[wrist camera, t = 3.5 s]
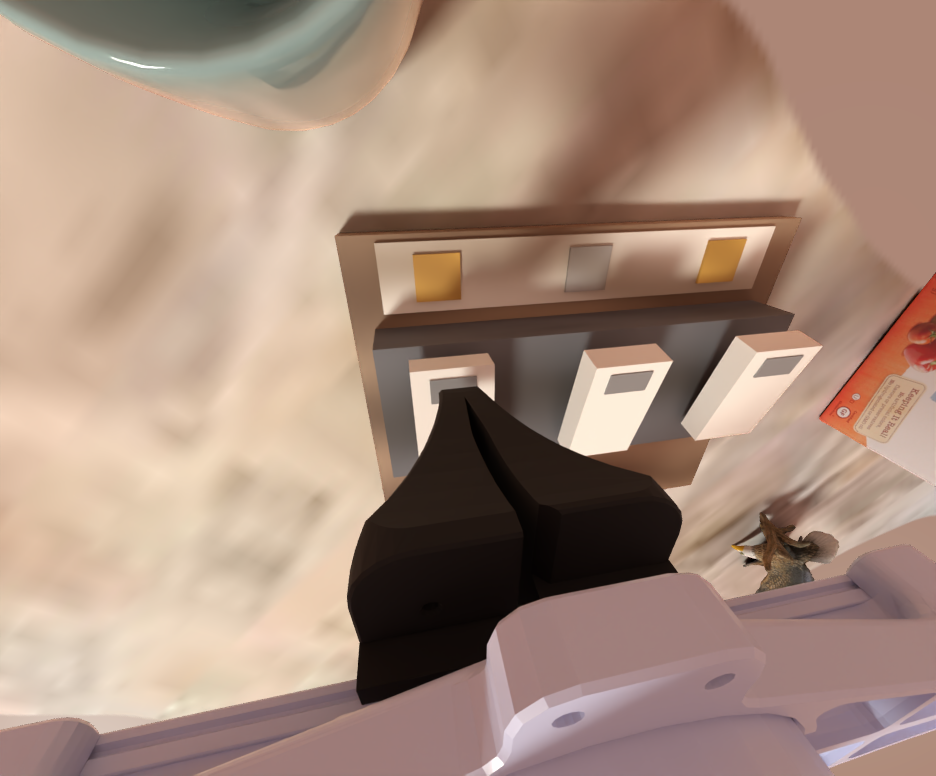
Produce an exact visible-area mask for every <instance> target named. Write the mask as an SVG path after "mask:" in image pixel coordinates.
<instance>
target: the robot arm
mask: <svg viewBox="0 0 936 776" xmlns="http://www.w3.org/2000/svg"><path fill="white" fill-rule="evenodd" d="M681 525H682V515H681V511H680V509H679V508H678V507H677V505H676V504H675V503H674V501H673V500H672V499H671V498H670V497H669V496H668V494H667V493H666V492H665V491H664V490H663V489H662V488H661V487H660V485H659V484H658V483H657V482H656V481H655V480H654V479H653V478H652V477H651V476H649V475H646V474H642V473H638V472H634V471H631V470H627V469H623V468H620V467H616V466H613V465H609V464H607V463H604V462H601V461H598V460H595V459H592V458H590V457H587V456H584V455H582V454H579V453H577V452H575V451H572V450H570V449H568V448H566V447H564V446H561V445H559V444H557V443H555V442H553V441H551V440H549V439H548V438H546V437H544V436H542V435H541V434H539V433H537V432H535V431H534V430H532V429H531V428H529V427H527V426H526V425H525V424H523V423H522V422H520V421H519V420H517V419H516V418H514V417H513V416H512V415H510V414H509V413H508V412H507V411H505V410H504V409H503V408H502V407H500V406H499V405H498V404H497V403H496V402H495V401H493V400H492V399H491V398H490V397H489V396H488V395H487V394H486V393H484V392H483V391H482V390H481V389H480V388H479V387H478V386H473V387H464V388H454V389H444V390H441V391H440V392H439V406H438V411H437V415H436V418H435V422H434V425H433V428H432V430H431V433H430V435H429V438H428V440H427V442H426V444H425V446H424V448H423V450H422V452H421V454H420V456H419V458H418V459H417V461H416V462H415V464H414V466H413V467H412V469H411V470H410V472H409V473H408V475H407V476H406V477H405V479H404V480H403V481H402V483H401V484H400V485H399V486H398V487H397V489H396V490H395V491H394V492H393V494H392V495H391V496H390V497H389V498H388V499H387V501H386V502H385V503H384V504H383V505H382V506H381V507H380V508H379V509H378V510H377V511H376V512H375V513H374V514H373V515H372V516H371V517H370V518H368V519H367V520H366V521H365V524H364V526H363V529H362V532H361V534H360V537H359V540H358V543H357V546H356V549H355V553H354V556H353V560H352V565H351V569H350V575H349V584H348V593H347V602H348V609H349V612H350V615H351V618H352V621H353V624H354V627H355V630H356V633H357V636H358V639H359V642H360V645H359V658H358V671H357V679H355V680H351V681H346V682H341V683H337V684H332V685H327V686H323V687H318V688H313V689H309V690H304V691H299V692H295V693H290V694H285V695H281V696H276V697H271V698H267V699H262V700H257V701H253V702H248V703H243V704H239V705H234V706H229V707H225V708H220V709H215V710H211V711H206V712H201V713H197V714H192V715H187V716H183V717H178V718H173V719H169V720H164V721H160V722H155V723H151V724H146V725H141V726H137V727H132V728H127V729H122V730H118V731H113V732H109V733H104V734H99V732H98V731H97V730H96V728H95V727H94V726H93V725H92V724H90V723H89V722H87V721H84V720H82V719H79V718H69V717H66V718H56V719H51V720H46V721H41V722H36V723H32V724H26V725H22V726H17V727H12V728H7V729H3V730H0V776H834V775H833V773H832V772H831V771H830V769H829V768H831V767H833V766H836V765H839V764H841V763H844V762H846V761H849V760H852V759H855V758H858V757H860V756H863V755H866V754H868V753H871V752H874V751H877V750H879V749H882V748H885V747H887V746H890V745H893V744H896V743H899V742H901V741H904V740H907V739H910V738H913V737H916V736H919V735H922V734H925V733H927V732H931V731H934V730H936V563H935V562H934V561H933V560H931V559H929V558H928V557H927V556H925V555H924V554H923V553H921V552H920V551H918V550H917V549H915V548H914V547H913V546H911V545H907V544H902V545H897V546H893V547H887V548H882V549H878V550H873V551H870V552H867V553H865V554H863V555H861V556H859V557H858V558H857V559H856V560H855V561H854V562H853V563H852V564H851V565H850V566H849V568H848V569H847V571H846V574H845V575H840V576H835V577H831V578H826V579H821V580H817V581H812V582H807V583H803V584H798V585H793V586H789V587H784V588H779V589H775V590H770V591H765V592H761V593H756V594H751V595H747V596H742V597H737V598H733V599H728V600H723V599H722V598H721V596H720V595H719V594H718V592H717V591H716V590H715V589H714V587H713V586H712V585H711V584H710V583H709V582H708V581H706V580H705V579H704V578H702V577H701V576H699V575H697V574H693V573H678V572H677V571H676V569H675V568H674V566H673V565H672V564H671V562H670V561H669V560H668V559H669V556H670V554H671V552H672V549H673V547H674V545H675V542H676V540H677V538H678V535H679V532H680V528H681Z"/></svg>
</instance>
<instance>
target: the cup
mask: <svg viewBox="0 0 936 776" xmlns="http://www.w3.org/2000/svg"><path fill="white" fill-rule="evenodd" d="M422 3H423V0H0V15H2V16H3V17H5V18H6V19H8V20H9V21H11V22H12V23H13V24H15V25H16V26H18V27H19V28H21V29H22V30H24V31H25V32H27V33H28V34H30V35H31V36H33V37H35V38H37V39H39V40H41V41H43V42H45V43H47V44H49V45H51V46H53V47H55V48H57V49H59V50H61V51H63V52H65V53H67V54H69V55H71V56H73V57H75V58H77V59H79V60H81V61H83V62H85V63H87V64H89V65H91V66H93V67H95V68H97V69H99V70H101V71H103V72H105V73H107V74H109V75H111V76H113V77H115V78H117V79H120V80H122V81H124V82H127V83H129V84H131V85H134V86H136V87H138V88H141V89H144V90H146V91H149V92H151V93H154V94H157V95H159V96H162V97H165V98H167V99H170V100H173V101H176V102H178V103H181V104H184V105H187V106H189V107H192V108H195V109H198V110H201V111H204V112H207V113H209V114H212V115H216V116H219V117H222V118H226V119H229V120H233V121H237V122H241V123H245V124H249V125H253V126H257V127H261V128H265V129H270V130H292V131H306V130H311V129H316V128H320V127H325V126H329V125H333V124H335V123H337V122H339V121H341V120H344V119H346V118H348V117H350V116H352V115H354V114H355V113H357V112H358V111H359V110H361V109H362V108H363V107H365V106H366V105H367V104H369V103H370V102H371V101H372V100H374V98H375V97H376V96H377V95H378V94H379V93H380V91H381V90H382V89H383V88H384V87H385V86H386V84H387V83H388V82H389V81H390V80H391V79H392V77H393V76H394V74H395V72H396V70H397V68H398V67H399V65H400V63H401V61H402V59H403V57H404V56H405V54H406V52H407V50H408V47H409V45H410V42H411V39H412V36H413V33H414V29H415V26H416V23H417V20H418V16H419V13H420V10H421V7H422Z"/></svg>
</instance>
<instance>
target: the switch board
mask: <svg viewBox="0 0 936 776" xmlns="http://www.w3.org/2000/svg"><path fill="white" fill-rule="evenodd" d="M801 219H802V218H796V217H784V216H779V217H753V218H727V219H700V220H674V221H648V222H622V223H596V224H570V225H543V226H517V227H491V228H465V229H439V230H413V231H386V232H360V233H338V234H337V235H336V236H335V240H336V245H337V251H338V256H339V261H340V266H341V272H342V277H343V282H344V287H345V292H346V298H347V303H348V308H349V313H350V319H351V324H352V329H353V334H354V340H355V345H356V350H357V355H358V361H359V366H360V371H361V376H362V382H363V387H364V392H365V397H366V403H367V408H368V413H369V418H370V423H371V429H372V434H373V439H374V444H375V450H376V455H377V460H378V465H379V471H380V476H381V481H382V486H383V492H384V497H385V502H386V501H387V499H388V498H389V497H390V496H391V495H392V494H393V492H394V491H395V490H396V489H397V487H398V486H399V485H400V484H401V483H402V481H403V480H404V479H405V477H406V476H407V475H408V473H409V472H410V470H411V469H412V467H413V466H414V464H415V462H416V461H417V459H418V458H419V454H418V445H417V436H416V427H415V418H414V409H413V400H412V391H411V382H410V373H409V360H417V359H428V358H439V357H450V356H461V355H472V354H483V353H488V354H489V356H490V358H491V359H492V361H493V362H494V364H495V397H494V401H495V402H496V403H497V404H498V405H499V406H500V407H502V408H503V409H504V410H505V411H507V412H508V413H509V414H510V415H512V416H513V417H514V418H516V419H517V420H519V421H520V422H522V423H523V424H525V425H526V426H527V427H529V428H531V429H532V430H534V431H535V432H537V433H539V434H541V435H542V436H544V437H546V438H548V439H549V440H551V441H553V442H555V443H557V444H559V442H558V440H557V439H558V436H559V433H560V429H561V426H562V422H563V419H564V416H565V412H566V409H567V406H568V402H569V399H570V395H571V392H572V389H573V385H574V382H575V379H576V375H577V372H578V368H579V365H580V362H581V358H582V355H583V351H584V350H591V349H602V348H613V347H623V346H634V345H645V344H657V345H658V346H659V347H660V348H661V349H662V350H663V351H664V352H665V353H666V354H667V355H668V356H669V357H670V358H671V359H672V360H673V362H672V364H671V366H670V368H669V370H668V372H667V374H666V376H665V378H664V380H663V381H662V383H661V385H660V387H659V389H658V391H657V393H656V395H655V397H654V399H653V401H652V403H651V405H650V407H649V409H648V411H647V412H646V414H645V416H644V418H643V420H642V422H641V424H640V426H639V428H638V430H637V432H636V434H635V436H634V438H633V440H632V441H631V443H630V445H629V447H628V449H627V450H624V451H617V452H610V453H603V454H595V455H588V456H587V457H590V458H592V459H595V460H598V461H601V462H604V463H607V464H609V465H613V466H616V467H620V468H623V469H627V470H631V471H634V472H638V473H642V474H646V475H649V476H651V477H652V478H653V479H654V480H655V481H656V482H657V483H658V484H659V485H660V487H661V488H662V489H667V488H673V487H680V486H686V485H691V483H692V481H693V478H694V476H695V473H696V471H697V469H698V466H699V464H700V461H701V459H702V457H703V454H704V452H705V449H706V447H707V445H708V442H709V440H710V439H704V440H696V441H695V440H694V439H693V438H692V436H691V435H690V434H689V433H688V431H687V430H686V429H685V428H684V427H683V425H682V424H681V422H682V421H683V419H684V418H685V416H686V414H687V413H688V411H689V410H690V408H691V406H692V405H693V403H694V402H695V400H696V399H697V397H698V395H699V394H700V392H701V391H702V389H703V387H704V386H705V384H706V383H707V381H708V379H709V378H710V376H711V375H712V373H713V372H714V370H715V368H716V367H717V365H718V364H719V362H720V360H721V359H722V357H723V356H724V354H725V352H726V351H727V349H728V348H729V346H730V345H731V343H732V341H733V340H734V338H735V337H736V336H742V335H753V334H764V333H774V332H785V331H787V330H788V328H789V326H790V323H791V321H792V319H793V317H794V315H795V314H792V313H789V312H786V311H783V310H780V309H777V308H774V307H771V306H768V305H766V303H767V300H768V298H769V296H770V293H771V291H772V288H773V286H774V284H775V281H776V279H777V276H778V274H779V272H780V269H781V267H782V264H783V262H784V260H785V257H786V255H787V252H788V250H789V248H790V245H791V243H792V240H793V238H794V236H795V233H796V231H797V228H798V226H799V224H800V221H801ZM559 445H560V444H559Z"/></svg>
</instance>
